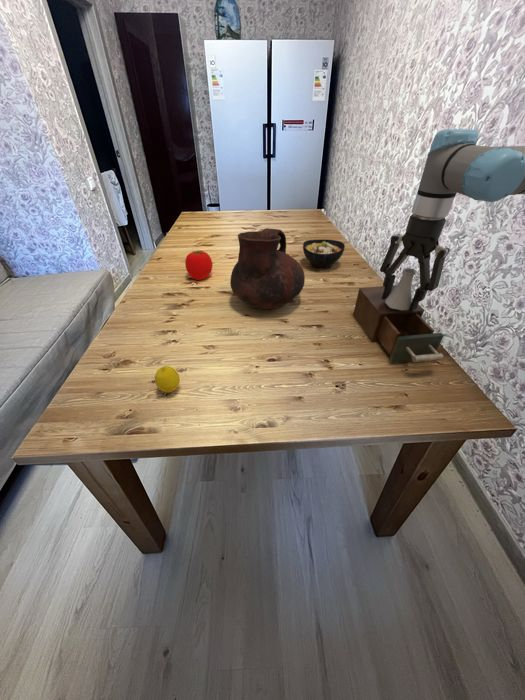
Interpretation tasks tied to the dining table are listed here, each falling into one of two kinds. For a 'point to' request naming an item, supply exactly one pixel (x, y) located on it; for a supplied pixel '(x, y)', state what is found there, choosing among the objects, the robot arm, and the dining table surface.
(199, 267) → the tomato
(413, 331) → the drawer
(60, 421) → the dining table surface
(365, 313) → the cabinet
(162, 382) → the fruit
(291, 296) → the jug
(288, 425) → the dining table surface
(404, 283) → the flask
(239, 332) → the dining table surface
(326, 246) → the bowl
